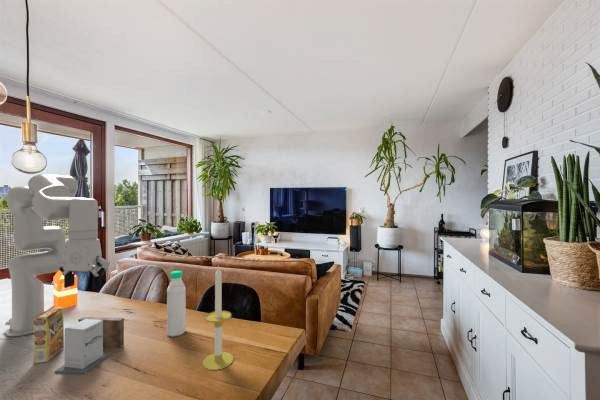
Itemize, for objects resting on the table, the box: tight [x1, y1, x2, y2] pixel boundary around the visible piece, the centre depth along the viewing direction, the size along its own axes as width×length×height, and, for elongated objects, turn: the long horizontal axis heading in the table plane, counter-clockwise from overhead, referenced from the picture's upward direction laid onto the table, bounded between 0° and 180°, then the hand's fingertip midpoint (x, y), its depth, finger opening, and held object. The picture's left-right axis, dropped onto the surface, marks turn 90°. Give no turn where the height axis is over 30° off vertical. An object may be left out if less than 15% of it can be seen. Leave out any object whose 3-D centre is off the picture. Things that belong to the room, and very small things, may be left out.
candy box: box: [33, 306, 65, 364], centre depth 94 cm, size 9×4×15 cm, turn 13°
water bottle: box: [166, 270, 187, 337], centre depth 111 cm, size 7×7×25 cm
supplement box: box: [63, 319, 104, 369], centre depth 90 cm, size 7×7×13 cm
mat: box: [54, 353, 111, 375], centre depth 90 cm, size 10×10×1 cm
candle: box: [202, 264, 234, 371], centre depth 91 cm, size 10×10×32 cm
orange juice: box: [52, 271, 78, 309], centre depth 140 cm, size 8×9×20 cm
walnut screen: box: [77, 316, 125, 349], centre depth 101 cm, size 16×2×10 cm, turn 87°
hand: (83, 287), depth 90 cm, fingers open, 9 cm apart
